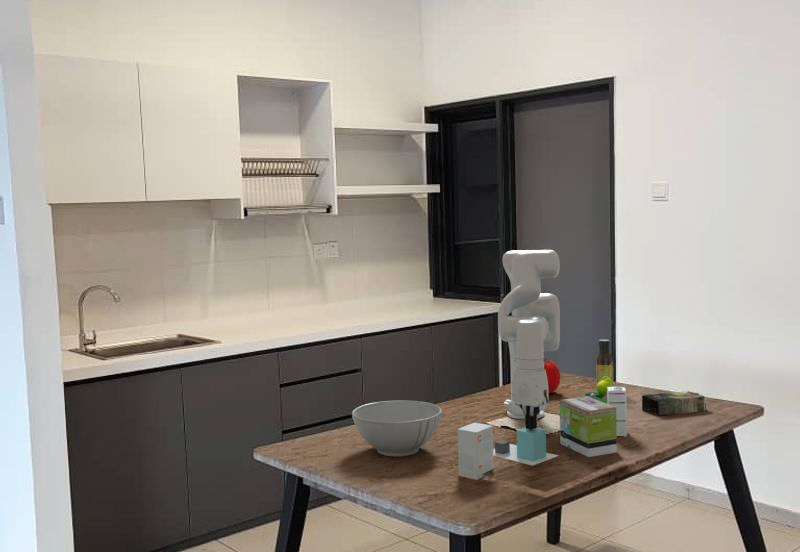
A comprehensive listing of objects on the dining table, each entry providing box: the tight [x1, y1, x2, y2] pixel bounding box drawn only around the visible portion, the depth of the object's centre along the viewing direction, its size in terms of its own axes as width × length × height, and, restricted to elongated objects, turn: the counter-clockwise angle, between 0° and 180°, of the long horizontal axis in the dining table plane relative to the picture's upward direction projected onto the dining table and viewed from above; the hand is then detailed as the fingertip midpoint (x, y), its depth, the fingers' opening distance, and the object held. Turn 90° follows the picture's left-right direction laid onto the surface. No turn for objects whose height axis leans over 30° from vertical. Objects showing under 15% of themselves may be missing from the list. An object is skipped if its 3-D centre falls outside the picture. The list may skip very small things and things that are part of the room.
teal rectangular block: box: [516, 427, 547, 461], centre depth 236 cm, size 6×6×8 cm
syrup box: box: [607, 386, 628, 438], centre depth 261 cm, size 6×6×14 cm
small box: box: [456, 422, 495, 481], centre depth 226 cm, size 8×6×13 cm
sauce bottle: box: [595, 339, 615, 392], centre depth 318 cm, size 6×6×20 cm
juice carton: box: [641, 390, 707, 416], centre depth 288 cm, size 20×10×6 cm, turn 108°
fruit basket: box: [582, 376, 612, 404], centre depth 292 cm, size 11×9×11 cm
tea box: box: [559, 396, 618, 458], centre depth 243 cm, size 15×10×15 cm, turn 22°
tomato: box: [544, 358, 561, 394], centre depth 319 cm, size 12×12×13 cm
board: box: [493, 439, 560, 466], centre depth 240 cm, size 18×12×4 cm, turn 43°
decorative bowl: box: [351, 399, 443, 457], centre depth 250 cm, size 27×27×12 cm
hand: (531, 428), depth 236 cm, fingers closed
